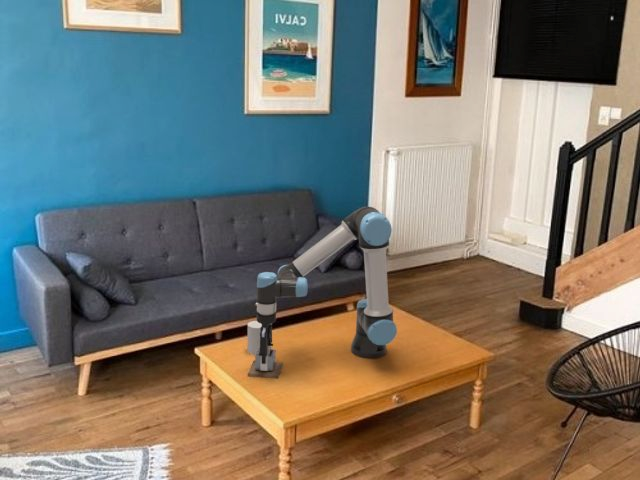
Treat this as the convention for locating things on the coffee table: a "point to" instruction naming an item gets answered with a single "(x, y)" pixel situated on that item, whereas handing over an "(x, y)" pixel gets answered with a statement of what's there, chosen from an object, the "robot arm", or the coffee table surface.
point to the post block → (266, 374)
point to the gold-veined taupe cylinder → (253, 337)
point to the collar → (270, 360)
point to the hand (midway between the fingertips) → (265, 365)
